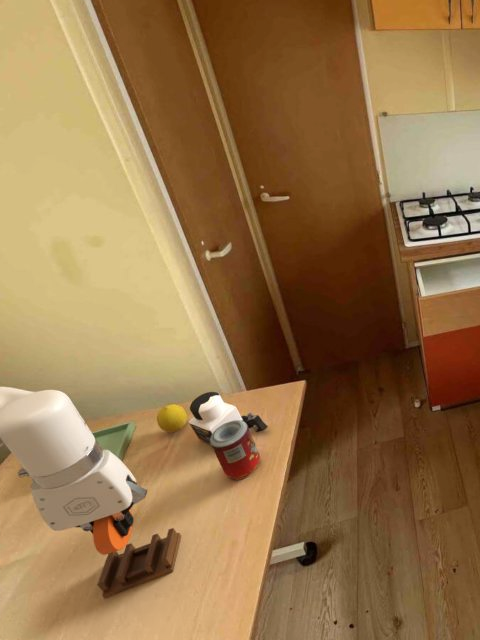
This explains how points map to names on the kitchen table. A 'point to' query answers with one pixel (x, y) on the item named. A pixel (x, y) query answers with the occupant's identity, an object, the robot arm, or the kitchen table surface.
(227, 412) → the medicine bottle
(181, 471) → the kitchen table surface
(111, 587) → the rack
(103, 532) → the disc
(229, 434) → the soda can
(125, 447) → the tray
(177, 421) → the lemon
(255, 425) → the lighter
